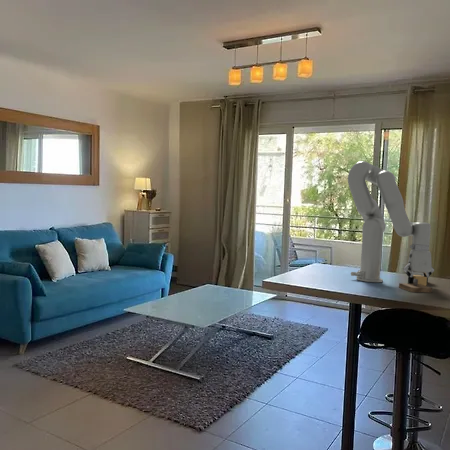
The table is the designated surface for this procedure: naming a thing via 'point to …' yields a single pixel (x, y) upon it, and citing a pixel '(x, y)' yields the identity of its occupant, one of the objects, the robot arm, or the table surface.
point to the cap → (421, 279)
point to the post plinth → (415, 287)
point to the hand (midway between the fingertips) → (417, 284)
